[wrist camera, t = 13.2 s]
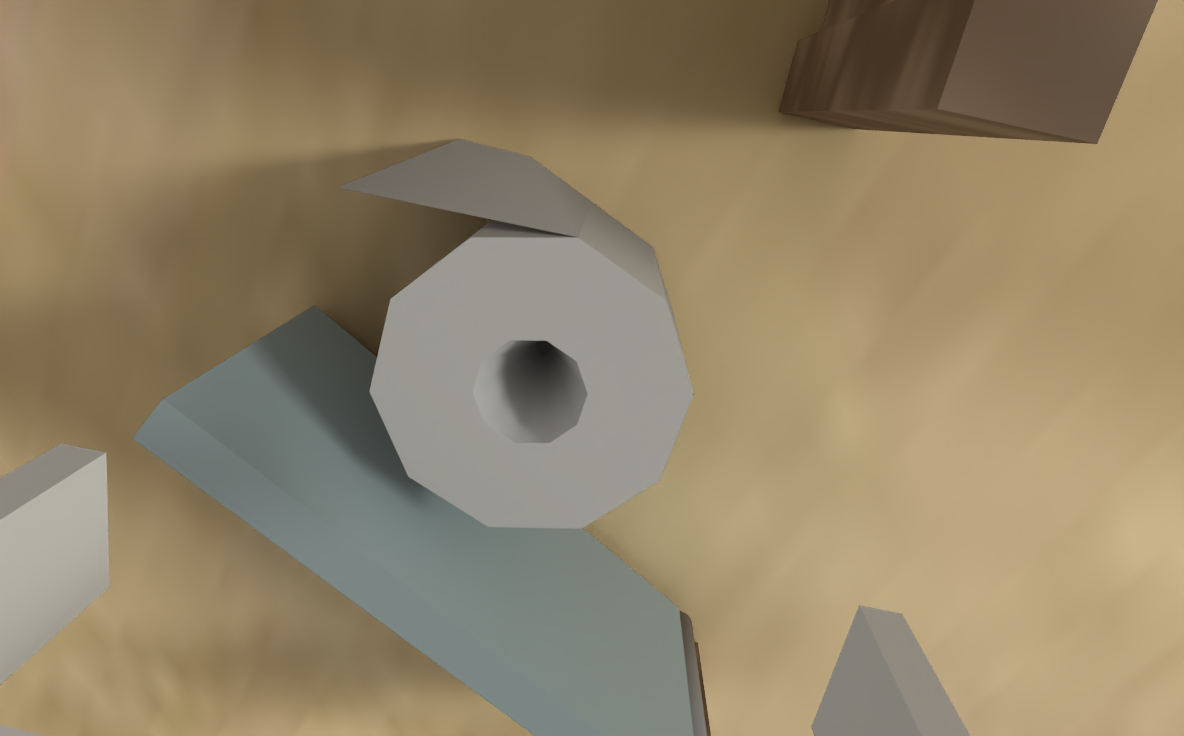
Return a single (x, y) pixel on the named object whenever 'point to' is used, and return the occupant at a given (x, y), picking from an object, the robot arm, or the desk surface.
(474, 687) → the door
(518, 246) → the toilet tissue
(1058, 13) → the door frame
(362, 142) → the desk surface
